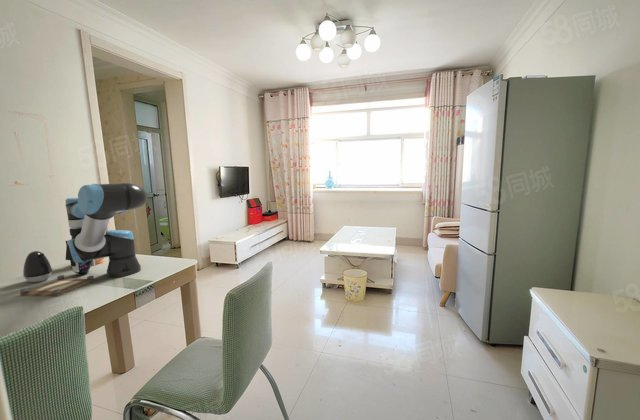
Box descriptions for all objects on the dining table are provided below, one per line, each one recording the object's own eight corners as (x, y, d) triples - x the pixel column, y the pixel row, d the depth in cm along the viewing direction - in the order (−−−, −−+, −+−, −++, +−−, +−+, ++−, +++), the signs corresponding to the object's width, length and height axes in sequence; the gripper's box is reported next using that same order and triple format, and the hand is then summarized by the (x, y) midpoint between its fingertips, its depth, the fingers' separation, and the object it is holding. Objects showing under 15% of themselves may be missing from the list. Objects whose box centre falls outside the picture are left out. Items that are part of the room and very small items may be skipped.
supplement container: (69, 269, 146) (77, 250, 147) (84, 270, 151) (92, 252, 153) (75, 274, 142) (83, 254, 144) (90, 274, 148) (98, 255, 149)
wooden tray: (95, 280, 139) (94, 275, 138) (57, 296, 120) (56, 291, 120) (61, 279, 140) (60, 275, 140) (19, 296, 122) (18, 290, 122)
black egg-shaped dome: (35, 285, 134) (30, 254, 132) (19, 283, 136) (13, 253, 134) (58, 277, 144) (54, 248, 142) (43, 276, 146) (38, 248, 144)
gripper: (90, 223, 156) (95, 262, 159) (50, 231, 135) (57, 276, 138) (103, 223, 155) (107, 262, 158) (65, 231, 134) (71, 276, 137)
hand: (84, 268), depth 148 cm, fingers closed on supplement container, 9 cm apart
